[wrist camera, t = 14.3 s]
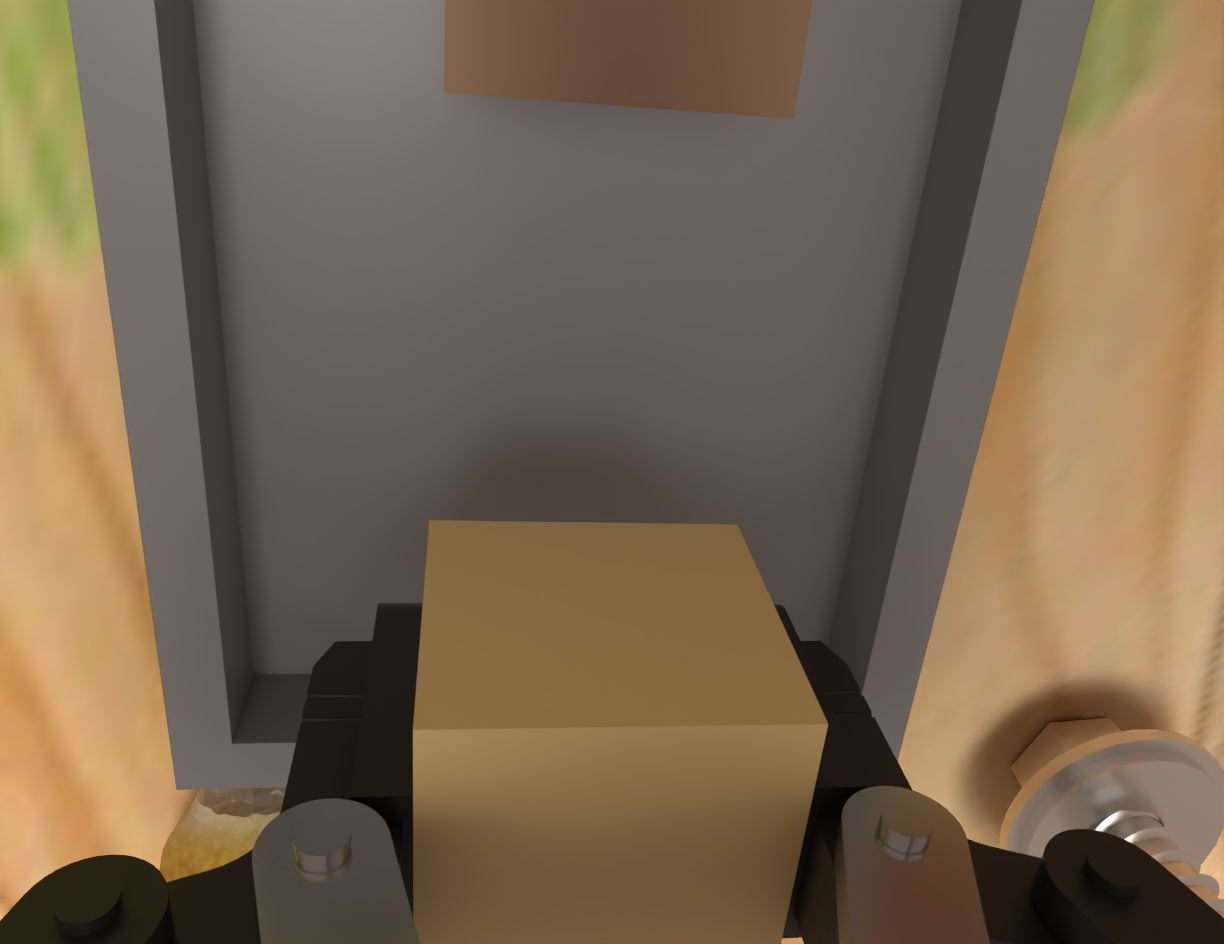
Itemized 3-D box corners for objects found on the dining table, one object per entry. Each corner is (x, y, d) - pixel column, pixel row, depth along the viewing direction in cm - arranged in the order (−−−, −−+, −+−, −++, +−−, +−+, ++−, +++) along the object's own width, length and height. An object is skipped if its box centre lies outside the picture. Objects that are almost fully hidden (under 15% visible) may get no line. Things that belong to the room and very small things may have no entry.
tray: (1115, -473, 14) (1237, -552, 11) (851, 691, 22) (893, 774, 20) (57, -636, 12) (-40, -767, 10) (209, 696, 20) (176, 789, 18)
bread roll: (296, 1028, 25) (265, 1206, 22) (127, 757, 21) (56, 922, 18) (626, 940, 25) (650, 1104, 22) (522, 650, 21) (530, 795, 17)
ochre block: (737, 524, 14) (827, 723, 10) (701, 759, 16) (768, 1000, 12) (429, 520, 13) (413, 729, 10) (428, 765, 15) (414, 1018, 11)
